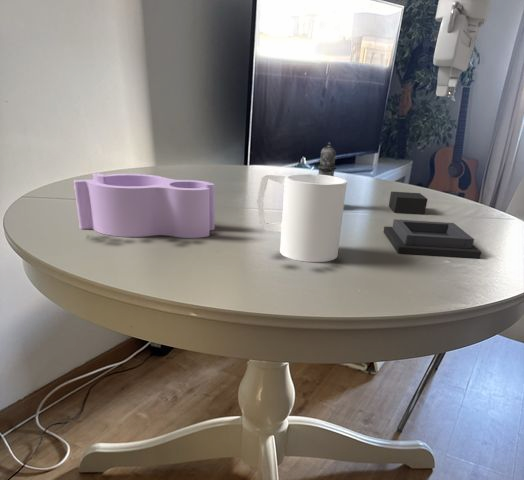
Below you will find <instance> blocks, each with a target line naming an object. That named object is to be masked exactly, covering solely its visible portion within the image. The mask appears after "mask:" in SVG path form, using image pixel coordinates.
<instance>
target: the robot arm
mask: <svg viewBox="0 0 524 480" xmlns="http://www.w3.org/2000/svg"><path fill="white" fill-rule="evenodd" d="M491 3H492V0H438V2H437V7H436V13H435V18H434V19H435V21H436V22H440V26H439V31H438V35H437V39H436V43H435V49H434V53H433V59H432V60H433V65H434V66H435V67H438V70H437V83H436V90H435V96H437V97H445V98H453V97H454V95H455V91H456V88H457V84H458V82H459V79H460V76H461V72H463V73H464V72H466V71H467V69H468V67H469V64H470V62H471V58H472V55H473V52H474V50H475V49H474V48H475V46H476V42H477V39H478V35H479V32H480V28H483V26H484V24H485V22H487V20H488V18H489V17H488V16H489V13H490V8H491Z"/></svg>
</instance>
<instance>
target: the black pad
mask: <svg viewBox="0 0 524 480" xmlns="http://www.w3.org/2000/svg"><path fill="white" fill-rule="evenodd" d="M428 199H429V198H427V197H426V196H424V195H423V194H422V193H420V192H409V191H408V192H407V191H390V195H389V201H388V207H389V209H390V210H391V211H392V212H393V213H395V214H411V215H425V214H426V209H427V206H428V205H427V204H428Z"/></svg>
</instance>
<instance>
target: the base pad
mask: <svg viewBox="0 0 524 480" xmlns="http://www.w3.org/2000/svg"><path fill="white" fill-rule="evenodd" d="M392 221H393V222H392V226H384V227H383V234H384V235H385V237H386V238H387V240H388V241H389V242H390V244H391V245H392V247H393V248H394V250H395V252H396V253H397V254H400V255H401V254H403V255H417V256H433V257H434V256H435V257H450V258H451V257H453V258H464V259H465V258H468V259H481V256H482V253H483V252H482V251H481V249H479V248H477V246H476V245H474V242H475V238H474V237H472V235H470V234H469V233H467V232H466V231H464V230H463V229H462V228H461V227H459V226H458V225H457V224H455V223H454V222H447V221H446V222H444V221H427V220H412V219H393V220H392Z"/></svg>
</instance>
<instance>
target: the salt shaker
mask: <svg viewBox="0 0 524 480" xmlns="http://www.w3.org/2000/svg"><path fill="white" fill-rule="evenodd" d="M331 145H332V144H331V141H328V143H327V145H326V146H325V147H323V148H322V149H321V150H320V158H319V165H318V166H317V169H318V175H328V176H334V177H335V170H337V167H336V166H335V164H336V155H337V151H336V149H335V148H334V147H332V146H331Z"/></svg>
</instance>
